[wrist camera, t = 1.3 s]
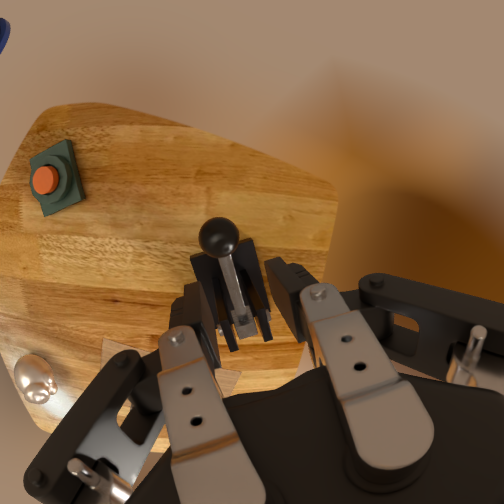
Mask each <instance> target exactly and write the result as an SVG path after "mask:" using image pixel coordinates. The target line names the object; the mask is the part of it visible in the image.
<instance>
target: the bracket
mask: <svg viewBox="0 0 504 504" xmlns="http://www.w3.org/2000/svg"><path fill="white" fill-rule="evenodd" d="M231 257H232V260H233V264H234V268H235V272H236V275H237V279H238V283H239V286H240V290H241V294H242V297H243V301H244V305H245V306H248V305H249V307H250V309H251V312H252V315H253V318H254V317H255V320H256V322H257V325H258V327H259V329H260V332H261V334H262V337H263V339H264V342H267V341H270V340H273V337H272V333H271V329H270V325H269V321H271V316H270V313H269V312H271V310H270V306H269V302H268V298H267V294H266V290H265V287H264V283H263V279H262V275H261V271H260V267H259V263H258V259H257V255H256V251H255V247H254V243H253V240H252V238H248V239H245V240H241V241H239V244H238V246H237V248H236V250H235V251H234V252H233V253H232V254H231ZM190 261H191V264H192V267H193V270H194V273H195V276H196V278H197V281H200V282H201V285H202V287H203V290H204V293H205V296H206V299H207V301H208V304H209V307H210V310H211V313H212V316H213V319H214V324H215V329H217V328H218V331H219V334H220V336H223V335H224V337H225V339H226V342H227V345H228V347H229V350H230V352H234V351H237V350H239V348H238V344H237V341H236V337H235V333H234V329H233V325H232V324H234V322H233V319H232V315H231V312H230V311H232V310H235V309H234V306H233V303H232V300H231V297H230V294H229V291H228V288H227V285H226V282H225V279H224V276H223V273H222V270H221V266H220V263H219V260H218V258H214V257H211V256H209V255H207V254H206V253H205V252H201V253H198V254H194V255H191V256H190Z"/></svg>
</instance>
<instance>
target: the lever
mask: <svg viewBox="0 0 504 504" xmlns="http://www.w3.org/2000/svg"><path fill="white" fill-rule="evenodd" d="M199 244H200V246H201V248H202V250H203V251H204V252H205V253H206V254H207V255H209V256H211V257H214V258H218V260H219V263H220V266H221V270H222V273H223V276H224V279H225V282H226V285H227V288H228V291H229V294H230V297H231V300H232V303H233V306H234V309H235V310H232V311H230V312H231V315H232V319H233V322H234V325H235V329H236V331H237V334H238V337H239V339H244V338H247V337H250V336H253V335H257V334H258V332H257V328H256V324H255V321H254V318H253V315H252V312H251V309H250V307H249V305H248V306H245V305H244V301H243V297H242V294H241V290H240V286H239V283H238V279H237V275H236V272H235V268H234V264H233V260H232V257H231V254H232V253H233V252H234V251H235V250H236V248H237V246H238V244H239V231H238V229H237V227H236V225H235V224H234V223H233V222H232V221H230V220H229V219H226V218H223V217H215V218H212V219H209V220H208V221H206V222H205V223H204V224H203V226H202V227H201V229H200V232H199Z"/></svg>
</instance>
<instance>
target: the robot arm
mask: <svg viewBox="0 0 504 504" xmlns="http://www.w3.org/2000/svg"><path fill="white" fill-rule="evenodd" d="M0 32H1V26H0ZM264 265H265V269H266V273H267V277H268V282H269V286H270V290H271V294H272V297H273V299H274V302H275V304H276V306H277V307H278V309H279V311H280V312H281V314H282V316H283V318H284V319H285V321H286V323H287V324H288V326H289V328H290V329H291V331H292V333H293V335H294V336H295V338H296V340H297V341H298V343H301V342H304V341H307V343H308V347H309V353H310V356H311V360H312V363H313V367H314V369H312V370H310V371H307V372H305V373H303V374H302V375H300V376H298V377H297V378H295V379H293V380H292V381H290V382H288V383H286V384H285V385H283V386H281V387H279V388H277V389H275V390H270V391H262V392H253V393H243V394H237V395H233V396H229V397H226V398H225V397H224V395H223V393H222V391H221V389H220V386H219V384H218V382H217V380H216V378H215V369H219V368H222V367H221V362H220V356H219V350H218V344H217V337H216V331H215V324H214V319H213V316H212V313H211V310H210V307H209V304H208V301H207V299H206V296H205V293H204V290H203V287H202V285H201V282H200V281H197V282H193V283H190V284H187V285H184V296H182V297H179V298H176V300H175V301H174V302H173V304H172V305H171V313H170V321H169V330H167V331H166V332H165V333H163V334H162V335H161V337H160V338H159V340H158V346H159V349H157V350H155V351H154V352H152V353H149V354H147V355H145V356H143V357H141V356H140V354H139V353H138V351H136V350H134V349H127V350H123V351H120V352H118V353H117V354H115V355H114V356H112V357H111V358H110V359H109V361H108V362H107V363H106V364H105V366H104V367H103V368H102V369H101V371H100V372H99V373H98V374H97V376H96V377H95V378H94V379H93V381H92V382H91V383H90V384H89V386H88V387H87V388H86V389H85V391H84V392H83V393H82V395H81V396H80V397H79V398H78V400H77V401H76V402H75V404H74V405H73V406H72V408H71V409H70V410H69V411H68V413H67V414H66V415H65V417H64V418H63V419H62V421H61V422H60V423H59V425H58V426H57V427H56V429H55V430H54V432H53V433H52V434H51V436H50V437H49V438H48V440H47V441H46V443H45V444H44V445H43V447H42V448H41V450H40V451H39V452H38V454H37V455H36V457H35V458H34V459H33V461H32V462H31V464H30V465H29V467H28V468H27V470H26V472H25V474H24V480H23V482H24V487H25V490H26V491H27V493H28V494H29V495H31V496H32V497H34V498H35V499H37V500H38V501H40V502H41V503H43V504H504V304H502V303H498V302H495V301H491V300H487V299H483V298H479V297H475V296H471V295H468V294H464V293H460V292H456V291H452V290H448V289H444V288H440V287H436V286H432V285H428V284H424V283H420V282H416V281H412V280H408V279H404V278H400V277H396V276H392V275H388V274H383V273H374V274H369V275H366V276H364V277H363V278H361V279H360V281H359V289H357V290H352V291H346V292H339V291H338V290H337V288H336V287H335V286H334V285H332V284H328V283H319V282H318V281H317V280H316V279H315V278H314V277H313V276H312V275H311V274H310V273H309V272H308V271H306V269H305V268H304V267H303V266H302V265H299V264H296V263H291V264H288V265H287V264H286V263H285V262H284V261H283V260H282V259H281V257H276V258H273V259H270V260H266V261H264ZM394 313H397V314H400V315H403V316H406V317H409V318H412V319H414V320H415V321H416V322H417V323H418V325H419V332H416V331H413V330H410V329H407V328H404V327H401V326H398V325H396V324H394ZM390 359H391V360H393V361H395V362H398V363H400V364H403V365H405V366H408V367H410V368H412V369H415V370H417V371H419V372H422V373H425V374H427V375H429V376H432V377H434V378H437V379H439V380H442V381H444V382H442V381H437V380H432V379H427V378H422V377H417V376H413V375H408V374H404V373H399V372H397V371H396V369H395V368H394V366H393V364H392V363H391V361H390ZM127 398H128V400H129V401H130V402H131V404H132V405H133V407H132V409H131V410H130V412H129V414H128V415H127V417H126V418H125V420H124V422H123V423H122V425H121V426H120V427H119V426H118V424H117V420H116V418H117V413H118V412H119V410H120V409H121V407H122V405H123V404H124V402H125V401H126V399H127ZM164 423H166V427H167V432H168V437H169V441H170V446H169V448H168V449H167V450H166V452H165V453H164V454H163V456H162V457H161V458H160V459H159V461H158V462H157V463H156V464H155V466H154V467H153V468H152V470H151V471H150V472H149V473H148V475H147V476H146V477H145V478H144V480H143V481H142V482H141V483H140V484H139V486H138V487H137V488H136V489H135V491H134V492H133V490H132V486H133V484H134V482H135V480H136V478H137V476H138V474H139V472H140V470H141V468H142V466H143V464H144V462H145V460H146V458H147V456H148V454H149V452H150V451H151V449H152V447H153V445H154V443H155V441H156V439H157V437H158V435H159V433H160V431H161V429H162V427H163V425H164Z"/></svg>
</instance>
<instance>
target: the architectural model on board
mask: <svg viewBox="0 0 504 504" xmlns="http://www.w3.org/2000/svg"><path fill="white" fill-rule="evenodd" d="M127 349H134V350H136V351H138V353H139V354H140V356H141V357H143V356H145V355H147V354H149V353H151V352H147V351H144V350H140V349H137V348H133V347H130V346H127V345H123V344H120V343H117V342H114V341H111V340H108V339H105V338H103V345H102V356H101V369H102V368H103V367H104V366H105V364H106V363H107V362H108V361H109V359H110V358H111V357H112V356H114V355H115V354H117V353H118V352H120V351H123V350H127ZM101 369H100V371H101ZM241 373H242V372H238V371H232V370H226V369H221V368H219V369H215V378H216V380H217V382H218V384H219V386H220V389H221V391H222V393H223V395H224V397H225V398H226V397H229V396H230V395H231V393H232V391H233V389H234V387H235V385H236V383H237V381H238V379H239V377H240V375H241ZM123 406H127V407H130V410H131V409H132V407H133V405H132V404H131V402H130V401H129V400H128V398H127V399H126V401H125V402H124V404H123ZM164 424H166V423H164Z"/></svg>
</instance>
